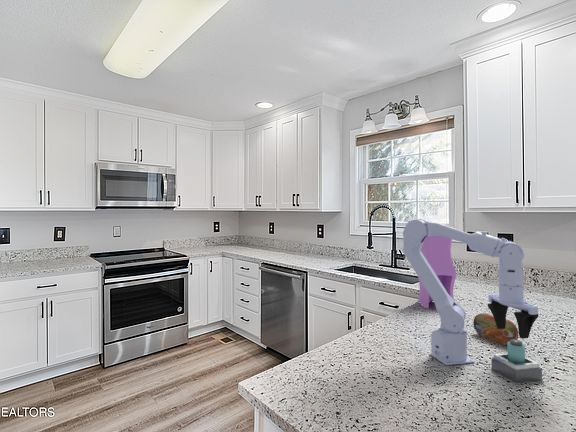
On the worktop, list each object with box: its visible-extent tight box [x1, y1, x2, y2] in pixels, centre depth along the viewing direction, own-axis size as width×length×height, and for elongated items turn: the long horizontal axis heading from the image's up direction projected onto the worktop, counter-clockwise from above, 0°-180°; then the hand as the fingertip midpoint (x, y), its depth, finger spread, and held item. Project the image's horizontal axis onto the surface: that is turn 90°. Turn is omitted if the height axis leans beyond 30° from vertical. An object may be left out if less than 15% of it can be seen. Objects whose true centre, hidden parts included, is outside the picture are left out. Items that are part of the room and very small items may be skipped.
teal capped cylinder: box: [506, 339, 526, 364], centre depth 89 cm, size 4×4×6 cm
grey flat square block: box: [491, 352, 543, 384], centre depth 89 cm, size 8×8×4 cm
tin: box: [472, 313, 519, 346], centre depth 113 cm, size 15×3×8 cm, turn 21°
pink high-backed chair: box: [417, 235, 457, 309], centre depth 157 cm, size 14×14×35 cm
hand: (512, 333), depth 91 cm, fingers open, 7 cm apart
